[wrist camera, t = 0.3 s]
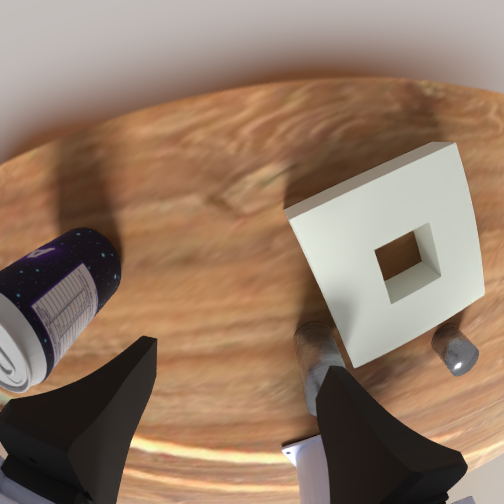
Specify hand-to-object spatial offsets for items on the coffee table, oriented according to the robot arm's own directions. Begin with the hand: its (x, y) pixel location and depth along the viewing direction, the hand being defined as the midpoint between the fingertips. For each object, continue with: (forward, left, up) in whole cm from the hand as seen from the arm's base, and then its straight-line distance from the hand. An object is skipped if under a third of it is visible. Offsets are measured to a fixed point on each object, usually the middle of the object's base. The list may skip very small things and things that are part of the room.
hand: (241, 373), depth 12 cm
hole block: (-3, -10, -10) cm, 15 cm away
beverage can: (+6, +10, -10) cm, 15 cm away
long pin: (-7, -2, -10) cm, 12 cm away
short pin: (-14, -13, -10) cm, 22 cm away
